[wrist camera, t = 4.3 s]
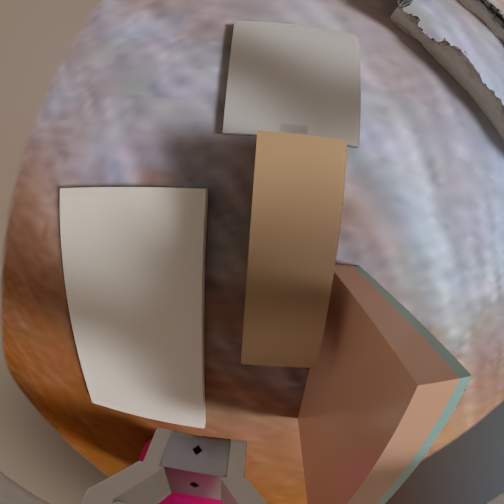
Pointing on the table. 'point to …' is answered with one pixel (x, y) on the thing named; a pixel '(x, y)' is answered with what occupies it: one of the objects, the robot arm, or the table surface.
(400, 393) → the tile
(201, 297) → the pad
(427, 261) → the table surface
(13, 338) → the table surface
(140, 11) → the table surface
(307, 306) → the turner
